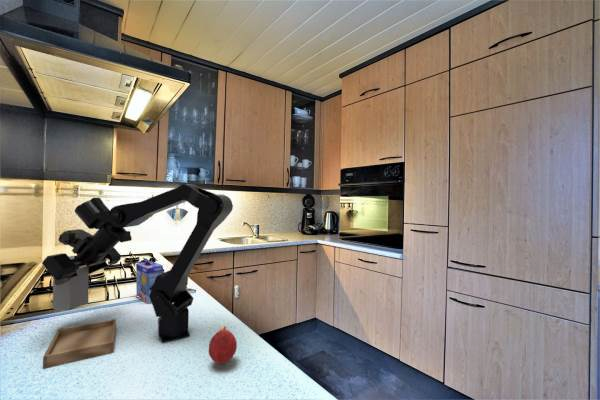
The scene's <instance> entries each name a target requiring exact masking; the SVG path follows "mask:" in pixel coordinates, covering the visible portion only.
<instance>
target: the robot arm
mask: <svg viewBox="0 0 600 400" xmlns="http://www.w3.org/2000/svg"><path fill="white" fill-rule="evenodd" d="M186 202H187V203H188V204H190V205H192V207H194V208H196V209H198V210H197V213H196V214H197V215H196V224H195V225H194V228H193V229H192V231H191V233H190V234H189V237H188V238H187V240H186V241H185V243H184V245H183V247H182V248H181V250H180V252H179V254H178V256H177V258H176V260H175V261H174V263H173V265H172V266H171V268H170V270H167V271H165V272H163V273H162V274H160V275H158V276H157V277H156V279H155V282H154V284H153V286H152V287H151V288H149V289H150V290H151V292H150V295H149V298H150V300H151V303H150V304H151V305H152V308H153V311H154V314H155V316H156V318H157V334H158V338H159V339H160V341H161V343H166V342H171V341H176V340H179V339H184V338H188V337H190V335H191V333H190V330H189V317H190V316H189V315H190V314H189V311H190V310H189V308H188V307H190V306H192V304H193V301H194V297H193V295H191V293H190V292H189V291H188V290H187V288H188V285H189V283H188V280H189V279H188V278H189V275H190V273H191V271H192V270H193V267H194V266H195V264H196V263H197V261H198V259H199V257H200V256H201V254H202V252H203V250H204V248H205V246H206V245H207V243H208V241H209V239H210V238H211V236H212V234H213V233H214V231H215V230H216V229H217V228H218V226H220V225H221V224H222V223H223V222H224V221H225V220H226V219H227V218H228V217H229V215H230V214H231V213H232V211H233V208H234V205H233V201H232V199H231V198H230V197H229V196H228V195H225V194H215V193H213V192H211V191H208V190H206V189H203V188H201V187H199V186H197V185H196V184H193V183H192V184H191V183H190V184H189V183H182V184H180V185H179V186H177V187H174V188H172V189H170V190H167V191H165V192H162V193H159V194H156V195H154V196H152V197H149V198H147V199H144V200H142V201H138V202H131V203H125V204H120V205H119V204H118V205H115V206H113V207H111V208H110V209H109V207H108V206H106V204H105V203H104V202H103V200H102V199H101V198H100V197H92V198H91V199H90V200H87V201H85V202H83V203H81V204H78V205H77V206H76V207H75V209H74V213H75V215H76V216H77V217H78V218H79V219H80V220H81V221H82V222H83V223H84V224H85V226H86V227H87V228H88V229H89V230H92V229H95V230H97V231H96V232H95V233H93V234H91V233H89V232H87V231H86V230H84V229H79V228H76V229H71V230H70V229H69V230H65V231H63V232H62V233H61V234H59V237H58V242H59V243H61V244H62V245H64V246H69V247H71V248H72V249H71V252H72V253H73V254H74V255H73V256H74V258H75V259H70V258H69V255H68V254H67V253H62V252H61V253H56V254H51V255H47V256H46V257H45V258H44V259H43V261H42V263H41V264H42V266H43V267H44V268H45V270H47V271H48V273H49V274H50V276H52V278H53V277H54V279H55V282H54V283H55V284H56V285H60V284H62V283H64V282H66V281H68V280H70V279H72V278H74V277H76V276H77V273H76V271H77V270H78V269H79V267H82V266H86V265H87V267H89V275H92V274H94V273H96V272H98V271H101V270H103V269H105V268H108V267H109V266H113V265H116V264H118V263H119V261H121V260H122V259H121V253H119V251H118V250H117V249H116V248H115V247H116V245H117V244H118V243H125V242H126V243H127V242H131V241H132V238H133V237H132V235H131V230H126V228H129V227H130V228H131V227H137V226H140V225H142V224H143V223H145V222H146V221H148V220H149V219H150V217H152V216H154V215H155V214H157V213H160V212H163V211H165V210H169V209H170V208H173V207H175V206H178V205H181V204H183V203H186ZM75 254H76V255H75ZM107 259H108V260H109V261H108V263H107Z"/></svg>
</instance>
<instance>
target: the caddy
mask: <svg viewBox="0 0 600 400" xmlns="http://www.w3.org/2000/svg"><path fill="white" fill-rule="evenodd" d="M74 256H75V255H68V257H69V258H70V259H75V258H74ZM76 273H77V276H76V277H74V278H72V279H70V280H68V281H66V282H64V283H62V284H60V285H56V284H55V283H54V282H55V279H54V277H53V276H52V309H53V310H58V311H59V310H63V311H71V310H74V309H77V308H79V307H81V306H83V305H86V304H88V303H89V281H90V280H89V277H90V276H89V275H90V274H89V267H87V265H86V266H82V267H79V269H78V270H77V271H76Z"/></svg>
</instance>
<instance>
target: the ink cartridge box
mask: <svg viewBox="0 0 600 400" xmlns="http://www.w3.org/2000/svg"><path fill="white" fill-rule="evenodd" d="M142 259H143V261H144V262H143V261H142V262H138V263H136V264H135V265H136V266H135V271H136V273H135V275H136V278H135V279H136V280H135V281H136V285H135V286H136V288H135V289H136V297H137V296H139V297H140V298H141V299H142V300H141V301H142V302H144V304H146V305H149V304H152V303H151V300H150V298H149V295H150V292H151V290H150V289H149V288H151V287H152V286H153V284H154V282H155V279H156V277H157V276H158V275H160V274H162V273H164V271H163V270H164V268H163V264H161V263H157V262H155V261H151V260H149V259H148V258H146V257H142Z"/></svg>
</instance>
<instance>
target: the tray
mask: <svg viewBox="0 0 600 400" xmlns="http://www.w3.org/2000/svg"><path fill="white" fill-rule="evenodd" d="M116 329H117V319H116V318H113V319H109V320H108V319H107V320H104V321H103V320H102V321H97V322H92V323H91V322H90V323H86V324H80V325H75V326H68V327H63V328H60V329H57V330H56V333H54V336H53V338H52V340H51V341H50V344H49V346H48V347H47V349H46V351H45V353H44V355H43V357H42V369H47V368H53V367H56V366H57V367H58V366H60V365H61V366H62V365H64V364H65V365H66V364H69V363H73V362H77V361H83V360H86V359H92V358H96V357H100V356H103V355H108V354H112V353H114V349H115V341H116V333H117V332H116Z"/></svg>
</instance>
